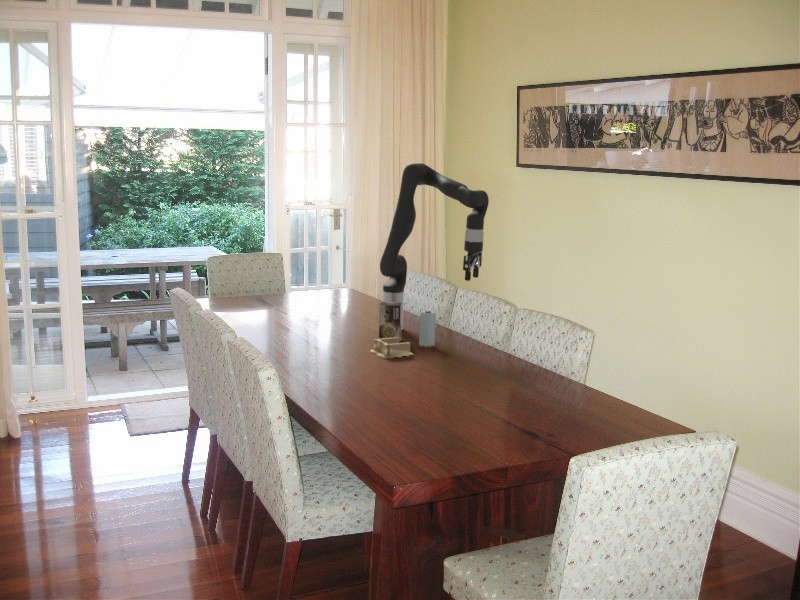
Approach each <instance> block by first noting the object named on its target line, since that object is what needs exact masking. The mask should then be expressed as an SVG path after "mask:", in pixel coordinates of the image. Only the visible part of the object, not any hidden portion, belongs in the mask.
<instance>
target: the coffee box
mask: <svg viewBox="0 0 800 600" xmlns="http://www.w3.org/2000/svg"><path fill="white" fill-rule="evenodd" d="M378 309H379V311H378V314H379V315H378V316H379V318H378V319H379V320H378V321H379V322H378V339H382V338H393V337H399V342H400V341H402V330H401V321H402V303H397V302H383V301H380V303H379V308H378ZM400 343H401V342H400Z"/></svg>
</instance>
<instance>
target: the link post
mask: <svg viewBox="0 0 800 600" xmlns="http://www.w3.org/2000/svg"><path fill="white" fill-rule="evenodd" d="M436 314H437V313H436V312H433V311H431V310H424V311H422V312H420V313H419V334H418V335H419V338H418V339H419V341H418V346H419V345H423V346H430V345H434V346H435V344H436V341H435V339H436V338H435V337H436V318H437V316H436Z"/></svg>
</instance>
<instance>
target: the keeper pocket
mask: <svg viewBox="0 0 800 600" xmlns="http://www.w3.org/2000/svg"><path fill="white" fill-rule="evenodd" d="M372 340H373V344H372V345H373V347H372V349H369V353H371V352H372V354H373V353H374V354H373V355H374V356H377V357H379V358H381V359H383V360H386V359H387V358H389V359H395V358H394V357H398V358H403V357H402V356H407V357H410V356H409V355H413V356H414V353H413V352H411V342H409V341H407V342H400V343H399V337H393V338H382V339H379V338H373V339H372Z"/></svg>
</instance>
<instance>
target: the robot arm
mask: <svg viewBox="0 0 800 600" xmlns="http://www.w3.org/2000/svg"><path fill="white" fill-rule="evenodd" d="M423 185H424V186H425V185H426V186H430V187H433V188H435V189H437V190H439V192H441V193H442V195H445V196H446V197H448V198H451V199H453V200H454V201H458V202H459V203H460V204H462V205H463V206H465V207H467V208H469V209H472V211H471V212H470V213H469V214H468V215H467V217H466V225H465V226H466V228H465V233H464V234H465V235H464V247H463V248H464V249H463V250H464V251H465V252H467V254H466V255H463V263H462V271H465V272H464V274H465V275H464V280H465V281H467V282H470V281H471V279H472V278H471V277H473V278H479V274H480V273H479V270H480V267H482V261H483V260H482V259H483V251H484V250H483V249H484V237H485V236H484V235H485V234H484V233H485V232H484V227H485V226H484V225H485V216H486V213H487V210H488V207H489V201H490V199H489V194H488V192H486V190H481V189H478V190H477V189H476V190H472V189H469V188H468V186H467V185H466V184H464V183H461V182H459V181H457V180H455V179H451V178H449V177H448V176H445V175H443V174H441V173H440V172H438V171H436V170H435V169H433V168H432V167H430V166H429V165H427V164H425V163H421V162H419V163H409V164H407V165H406V166H405V167H404V169H403V171H402V176H401V183H400V189H399V194H398V195H399V196H398V199H397V204H396V208H395V211H394V215H393V218H392V223H391V228H390V231H389V235H388V239H387V242H386V244H385V245H386V246H385V248H384V251H383V253H382V256H381V259H380V262H379V271H380V273H381V275H382V276H384V277H386V278H389V279H388V280H387V281H386V282H385V283H384V284H383V285H382V302H397V303H402V321H401V331H402V330H403V329H404V327H403V325H404V324H403V322H404V300H405V299H404V297H405V295H404V294H405V287H406V283H407V276H408V275H407V273H408V266H407V265H408V264H407V263H408V262H407V260H406V258H405V256H403V255H401V254H399V253H400V251H401V249H402V247H403V244H404V243H405V242H406V241H407V240H408V238H409V237H410V236H411V234H412V232H413V229H414V226H415V222H416V217H417V212H416V211H417V210H416V206H415V202H414V199H415V198H414V197H415V193H416V189H417V187H418V186H423ZM472 268H473V269H472ZM471 275H472V276H471Z"/></svg>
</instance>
